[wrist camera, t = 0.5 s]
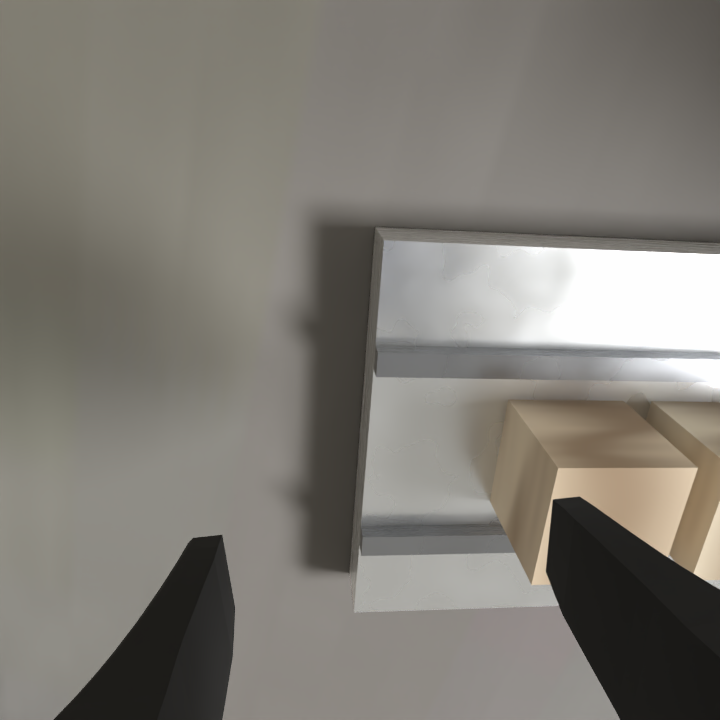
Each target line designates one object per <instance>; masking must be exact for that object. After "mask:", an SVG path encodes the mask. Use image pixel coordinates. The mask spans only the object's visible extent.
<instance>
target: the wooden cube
mask: <svg viewBox="0 0 720 720" xmlns="http://www.w3.org/2000/svg"><path fill="white" fill-rule="evenodd" d="M646 421H647V422H648V423H649V424H650V425H651V426H652V427H653V428H654V429H656V430H657V431H658V432H659V433H660V434H661V435H662V436H663V437H664V438H666V439H667V440H668V441H669V442H670V443H671V444H672V445H673V446H674V447H676V448H677V449H678V450H679V451H680V452H681V453H682V454H683V455H684V456H686V457H687V458H688V459H689V460H690V461H691V462H692V463H693V464H694V465H696V466H697V467H698V470H697V473H696V476H695V479H694V482H693V484H692V487H691V490H690V493H689V496H688V499H687V502H686V505H685V508H684V511H683V514H682V517H681V520H680V523H679V526H678V529H677V532H676V535H675V538H674V541H673V544H672V547H671V550H670V553H669V555H670V556H671V557H672V559H673V560H674V561H675V562H676V563H677V564H679V565H680V566H682V567H684V568H685V569H687V570H688V571H690V572H692V573H693V574H695V575H697V576H698V577H700V578H702V579H703V580H720V402H685V401H651V405H650V408H649V412H648V415H647V419H646Z"/></svg>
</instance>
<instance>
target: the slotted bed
mask: <svg viewBox="0 0 720 720" xmlns="http://www.w3.org/2000/svg"><path fill="white" fill-rule="evenodd" d="M508 399H513V400H599V401H624V402H625V403H627V404H628V405H629V406H630V407H631V408H632V409H633V410H634V411H635V412H637V413H638V414H639V415H640V416H641V417H642V418H643V419H644V420H645V421H646V419H647V415H648V412H649V408H650V405H651V401H685V402H720V243H709V242H687V241H666V240H645V239H623V238H602V237H580V236H559V235H537V234H516V233H494V232H473V231H451V230H430V229H408V228H387V227H375V235H374V249H373V262H372V276H371V289H370V303H369V316H368V329H367V343H366V356H365V370H364V383H363V397H362V410H361V424H360V437H359V451H358V464H357V477H356V491H355V504H354V518H353V531H352V545H351V558H350V572H349V575H350V584H351V592H352V600H353V609H354V612H382V611H413V610H444V609H475V608H506V607H537V606H559V604H558V602H557V599H556V597H555V595H554V592H553V589H552V587H551V585H531V583H530V581H529V579H528V577H527V575H526V573H525V571H524V569H523V567H522V565H521V563H520V561H519V559H518V557H517V555H516V553H515V551H514V549H513V547H512V545H511V543H510V541H509V539H508V537H507V535H506V533H505V531H504V529H503V527H502V525H501V523H500V521H499V519H498V517H497V515H496V513H495V511H494V509H493V507H492V505H491V502H490V497H491V492H492V486H493V481H494V475H495V469H496V464H497V458H498V453H499V447H500V442H501V436H502V431H503V425H504V420H505V414H506V409H507V403H508ZM668 558H670V559H671V560H673V559H672V557H671V556H670V555H669V556H668ZM673 561H674V560H673ZM674 562H675V561H674ZM705 581H706V582H708V583H710V584H711V585H713V586H715V587H716V588H718V589H720V580H705Z"/></svg>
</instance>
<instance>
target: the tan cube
mask: <svg viewBox="0 0 720 720" xmlns="http://www.w3.org/2000/svg"><path fill="white" fill-rule="evenodd" d="M697 470H698V467H697V466H696V465H694V464H693V463H692V462H691V461H690V460H689V459H688V458H687V457H686V456H684V455H683V454H682V453H681V452H680V451H679V450H678V449H677V448H676V447H674V446H673V445H672V444H671V443H670V442H669V441H668V440H667V439H666V438H664V437H663V436H662V435H661V434H660V433H659V432H658V431H657V430H656V429H654V428H653V427H652V426H651V425H650V424H649V423H648V422H647V421H645V420H644V419H643V418H642V417H641V416H640V415H639V414H638V413H637V412H635V411H634V410H633V409H632V408H631V407H630V406H629V405H628V404H627V403H625V402H624V401H599V400H513V399H508V403H507V409H506V414H505V420H504V425H503V431H502V436H501V442H500V447H499V453H498V458H497V464H496V469H495V475H494V481H493V486H492V492H491V497H490V502H491V505H492V507H493V509H494V511H495V513H496V515H497V517H498V519H499V521H500V523H501V525H502V527H503V529H504V531H505V533H506V535H507V537H508V539H509V541H510V543H511V545H512V547H513V549H514V551H515V553H516V555H517V557H518V559H519V561H520V563H521V565H522V567H523V569H524V571H525V573H526V575H527V577H528V579H529V581H530V583H531V585H551V584H550V582H549V579H548V576H547V574H546V563H547V553H548V543H549V533H550V523H551V513H552V502H553V499H561V498H570V497H579V496H580V497H581V498H583V499H584V500H586V501H587V502H589V503H590V504H592V505H593V506H595V507H596V508H597V509H599V510H600V511H602V512H603V513H605V514H606V515H607V516H609V517H610V518H612V519H613V520H614V521H616V522H617V523H619V524H620V525H621V526H623V527H624V528H626V529H627V530H629V531H630V532H631V533H633V534H634V535H636V536H637V537H639V538H640V539H641V540H643V541H644V542H646V543H647V544H649V545H650V546H652V547H653V548H655V549H656V550H658V551H659V552H661V553H662V554H664V555H665V556H667V557H668V556H669V553H670V550H671V547H672V544H673V541H674V538H675V535H676V532H677V529H678V526H679V523H680V520H681V517H682V514H683V511H684V508H685V505H686V502H687V499H688V496H689V493H690V490H691V487H692V484H693V482H694V479H695V476H696V473H697Z"/></svg>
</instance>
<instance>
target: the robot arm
mask: <svg viewBox="0 0 720 720" xmlns="http://www.w3.org/2000/svg"><path fill="white" fill-rule="evenodd" d="M546 574H547V576H548V579H549V582H550V584H551V587H552V589H553V592H554V595H555V597H556V599H557V602H558V604H559V607H560V609H561V611H562V614H563V616H564V618H565V620H566V622H567V623H568V625H569V627H570V629H571V631H572V633H573V635H574V636H575V638H576V640H577V642H578V644H579V646H580V647H581V649H582V651H583V653H584V655H585V656H586V658H587V660H588V662H589V664H590V665H591V667H592V669H593V671H594V673H595V674H596V676H597V678H598V680H599V682H600V683H601V685H602V687H603V689H604V691H605V692H606V694H607V696H608V698H609V700H610V701H611V703H612V705H613V707H614V709H615V710H616V712H617V714H618V716H619V718H620V720H720V589H718V588H716V587H715V586H713V585H711V584H710V583H708V582H706V581H705V580H703V579H702V578H700V577H698V576H697V575H695V574H693V573H692V572H690V571H688V570H687V569H685V568H684V567H682V566H680V565H679V564H677V563H676V562H674V561H673V560H671V559H670V558H668V557H667V556H665V555H664V554H662V553H661V552H659V551H658V550H656V549H655V548H653V547H652V546H650V545H649V544H647V543H646V542H644V541H643V540H641V539H640V538H639V537H637V536H636V535H634V534H633V533H631V532H630V531H629V530H627V529H626V528H624V527H623V526H621V525H620V524H619V523H617V522H616V521H614V520H613V519H612V518H610V517H609V516H607V515H606V514H605V513H603V512H602V511H600V510H599V509H597V508H596V507H595V506H593V505H592V504H590V503H589V502H587V501H586V500H584V499H583V498H581V497H580V496H579V497H570V498H561V499H553V502H552V513H551V523H550V533H549V543H548V553H547V563H546ZM234 620H235V605H234V599H233V594H232V588H231V582H230V577H229V571H228V565H227V560H226V554H225V548H224V543H223V537H222V535H217V536H208V537H199V538H193V539H192V540H191V541H190V542H189V543H188V545H187V546H186V548H185V550H184V551H183V553H182V555H181V556H180V558H179V560H178V561H177V563H176V564H175V566H174V568H173V569H172V571H171V572H170V574H169V576H168V577H167V579H166V580H165V582H164V583H163V585H162V586H161V588H160V589H159V591H158V592H157V594H156V595H155V597H154V598H153V600H152V601H151V602H150V604H149V605H148V607H147V608H146V610H145V611H144V613H143V614H142V616H141V617H140V618H139V620H138V621H137V622H136V624H135V625H134V626H133V628H132V629H131V630H130V632H129V633H128V634H127V636H126V637H125V638H124V639H123V641H122V642H121V643H120V645H119V646H118V647H117V649H116V650H115V651H114V652H113V654H112V655H111V656H110V657H109V659H108V660H107V661H106V662H105V664H104V665H103V666H102V667H101V668H100V670H99V671H98V672H97V673H96V674H95V675H94V677H93V678H92V679H91V680H90V681H89V682H88V683H87V685H86V686H85V687H84V688H83V689H82V690H81V691H80V692H79V693H78V695H77V696H76V697H75V698H74V699H73V700H72V701H71V702H70V703H69V704H68V705H67V706H66V707H65V708H64V709H63V710H62V711H61V712H60V714H59V715H58V716H57V717H56V718H55V719H54V720H222V718H223V712H224V706H225V700H226V694H227V687H228V681H229V675H230V669H231V663H232V656H233V640H234Z"/></svg>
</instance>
